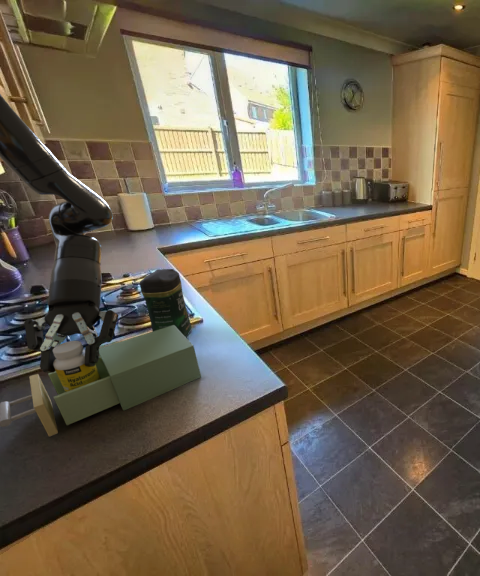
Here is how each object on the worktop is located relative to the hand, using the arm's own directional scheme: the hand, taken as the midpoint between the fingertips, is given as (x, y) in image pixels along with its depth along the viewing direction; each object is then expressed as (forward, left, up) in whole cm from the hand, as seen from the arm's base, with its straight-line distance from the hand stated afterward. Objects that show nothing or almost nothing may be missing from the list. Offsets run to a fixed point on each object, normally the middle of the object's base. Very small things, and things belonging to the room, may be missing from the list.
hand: (69, 368), depth 60 cm
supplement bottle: (+1, +2, -6) cm, 7 cm away
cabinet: (+12, +1, -10) cm, 16 cm away
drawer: (-1, +1, -9) cm, 10 cm away
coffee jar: (+21, +18, -10) cm, 30 cm away
